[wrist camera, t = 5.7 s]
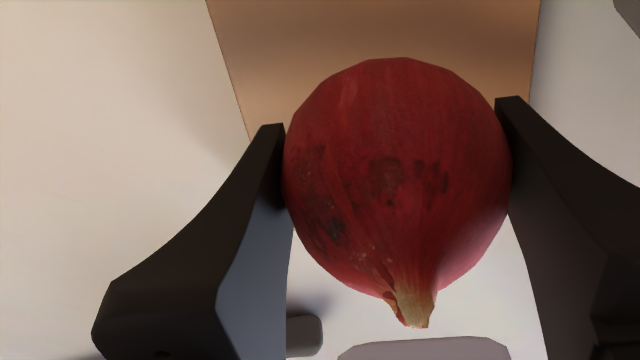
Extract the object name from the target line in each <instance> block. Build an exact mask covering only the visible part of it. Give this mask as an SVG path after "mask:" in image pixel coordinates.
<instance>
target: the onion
mask: <svg viewBox="0 0 640 360" xmlns="http://www.w3.org/2000/svg"><path fill="white" fill-rule="evenodd" d="M512 169H513V156H512V152H511V148H510V145H509V141H508V138H507V135H506V133H505V131H504V129H503V128H502V126H501V124H500V122H499V120H498V118H497V116H496V114H495V112H494V111H493V109H492V107H491V106H490V104H489V103H488V102H487V101H486V99H485V98H484V97H483V95H482V94H481V93H480V92H479V91H478V90H477V89H475V88H474V87H473V86H471V85H470V84H469V83H467V82H466V81H465V80H463V79H462V78H461V77H459V76H458V75H457V74H455V73H454V72H453V71H451V70H448V69H446V68H443V67H440V66H437V65H434V64H430V63H427V62H423V61H420V60H416V59H413V58H409V57H396V58H380V59H367V60H365V61H363V62H360V63H358V64H356V65H354V66H351V67H349V68H347V69H344V70H342V71H340V72H337V73H335V74H333V75H331V76H330V77H328V78H327V79H325V80H324V81H322V82H321V83H320V84H319V85H318V86H317V87H316V89H315V90H314V91H313V92H312V93H311V94H310V95H309V97H308V98H307V99H306V100H305V101H304V102H303V104H302V105H301V106H300V107H299V108H298V109H297V110H296V112H295V113H294V114H293V117H292V120H291V123H290V125H289V128H288V131H287V134H286V139H285V144H284V150H283V155H282V161H281V175H280V191H281V194H282V197H283V199H284V202H285V205H286V207H287V210H288V213H289V215H290V218H291V220H292V222H293V225H294V227H295V230H296V232H297V235H298V237H299V238H300V240H301V242H302V243H303V245H304V247H305V248H306V250H307V251H308V253H309V254H310V255H311V256H312V257H313V258H314V259H315V261H316V262H317V263H318V264H319V265H320V266H322V267H323V268H324V269H325V270H326V271H327V272H329V273H330V274H331V275H332V276H334V277H335V278H336V279H337V280H339V281H340V282H342V283H343V284H345V285H346V286H348V287H350V288H352V289H354V290H357V291H359V292H362V293H365V294H368V295H371V296H374V297H377V298H380V299H384V300H385V301H386V302H387V303H388V304H389V305H390V307H391V308H392V310H393V311H394V313H395V315H396V317H397V318H398V320H399V321H400V322H401V323H402V324H403V325H405V326H408V327H411V328H419V329H423V328H428V324H429V317H430V315H431V313H432V311H433V309H434V307H435V306H434V303H435V300H436V296H437V291H439V290H441V289H443V288H445V287H447V286H448V285H449V284H451V283H452V282H454V281H455V280H457V279H458V278H460V277H461V276H462V275H464V274H465V273H466V272H468V271H469V270H470V269H471V268H473V267H474V266H475V265H476V263H477V262H478V261H479V260H480V259H481V257H482V256H483V255H484V253H485V251H486V250H487V248H488V247H489V245H490V244H491V242H492V241H493V239H494V237H495V236H496V234H497V233H498V231H499V230H500V228H501V226H502V223H503V221H504V219H505V217H506V215H507V212H508V205H509V199H510V190H511V179H512Z"/></svg>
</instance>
